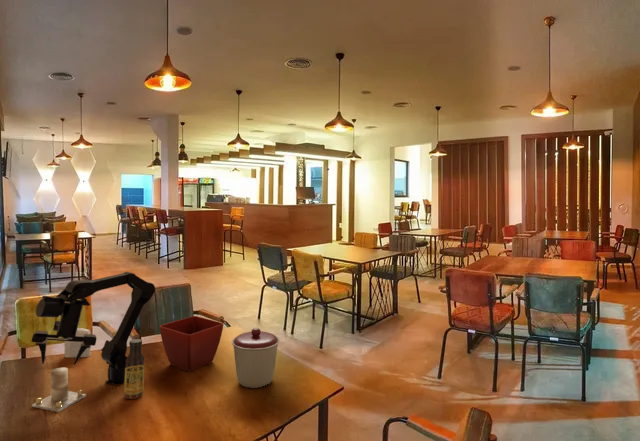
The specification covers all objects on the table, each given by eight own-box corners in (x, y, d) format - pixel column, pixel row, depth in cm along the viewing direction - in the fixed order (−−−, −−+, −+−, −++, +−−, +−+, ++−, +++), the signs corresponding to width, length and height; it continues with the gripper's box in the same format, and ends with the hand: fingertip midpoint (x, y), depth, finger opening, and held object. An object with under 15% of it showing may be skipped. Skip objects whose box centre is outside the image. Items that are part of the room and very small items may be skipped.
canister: (242, 370, 167) (242, 319, 166) (284, 374, 163) (285, 323, 162) (223, 390, 149) (223, 333, 148) (270, 396, 146) (271, 338, 145)
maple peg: (69, 394, 142) (68, 366, 142) (66, 401, 138) (66, 372, 137) (52, 397, 140) (52, 368, 140) (49, 403, 136) (48, 374, 135)
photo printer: (92, 354, 181) (92, 326, 180) (88, 357, 176) (88, 329, 176) (67, 354, 179) (67, 327, 179) (62, 358, 175) (62, 330, 174)
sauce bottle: (124, 401, 140) (124, 345, 139) (123, 393, 145) (123, 339, 144) (145, 397, 143) (145, 342, 142) (143, 390, 148) (143, 336, 147)
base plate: (86, 396, 143) (86, 389, 143) (58, 412, 132) (58, 404, 132) (61, 391, 146) (61, 385, 146) (32, 406, 135) (32, 399, 135)
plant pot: (224, 361, 176) (224, 322, 175) (188, 377, 160) (189, 335, 159) (194, 351, 186) (194, 315, 185) (158, 365, 170) (158, 325, 169)
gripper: (99, 316, 152) (89, 359, 150) (40, 311, 143) (28, 357, 141) (100, 321, 142) (89, 367, 140) (37, 316, 133) (24, 365, 131)
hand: (59, 364), depth 138 cm, fingers open, 9 cm apart
